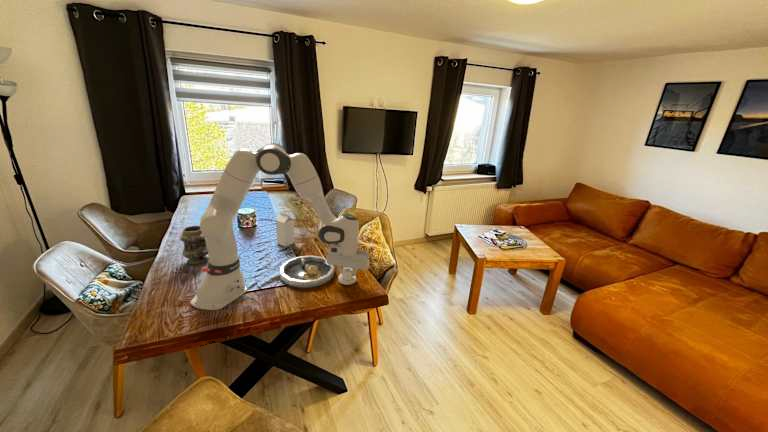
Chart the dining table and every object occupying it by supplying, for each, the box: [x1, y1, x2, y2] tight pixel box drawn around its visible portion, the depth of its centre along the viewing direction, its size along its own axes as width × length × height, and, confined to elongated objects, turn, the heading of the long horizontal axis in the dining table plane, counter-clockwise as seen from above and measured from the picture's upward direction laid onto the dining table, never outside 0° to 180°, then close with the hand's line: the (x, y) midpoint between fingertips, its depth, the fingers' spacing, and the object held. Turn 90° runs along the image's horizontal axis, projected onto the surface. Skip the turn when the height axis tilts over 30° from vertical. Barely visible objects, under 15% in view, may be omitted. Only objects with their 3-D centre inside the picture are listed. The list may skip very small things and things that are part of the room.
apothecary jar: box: [179, 225, 209, 267], centre depth 152 cm, size 12×12×18 cm
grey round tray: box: [279, 255, 335, 289], centre depth 150 cm, size 26×26×7 cm
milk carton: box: [275, 212, 295, 248], centre depth 178 cm, size 7×7×19 cm
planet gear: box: [337, 267, 357, 286], centre depth 146 cm, size 8×8×6 cm
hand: (347, 274), depth 146 cm, fingers closed on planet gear, 5 cm apart
